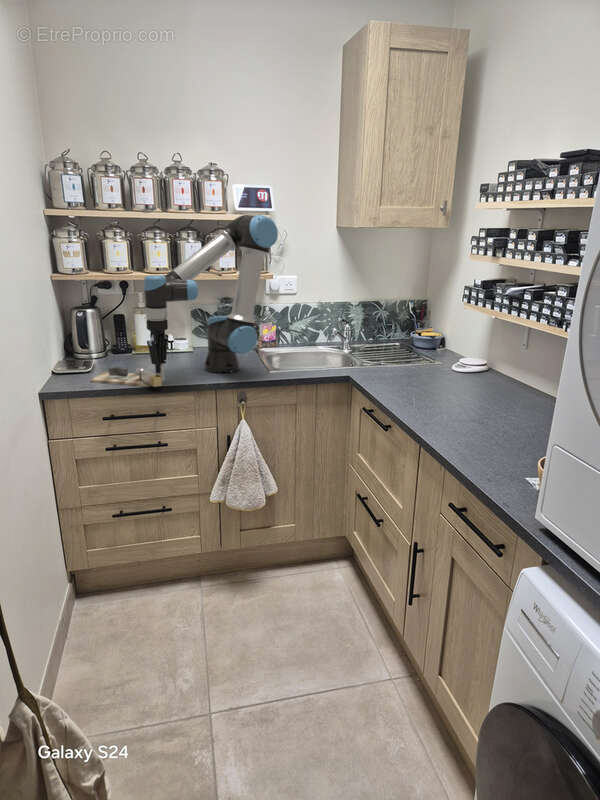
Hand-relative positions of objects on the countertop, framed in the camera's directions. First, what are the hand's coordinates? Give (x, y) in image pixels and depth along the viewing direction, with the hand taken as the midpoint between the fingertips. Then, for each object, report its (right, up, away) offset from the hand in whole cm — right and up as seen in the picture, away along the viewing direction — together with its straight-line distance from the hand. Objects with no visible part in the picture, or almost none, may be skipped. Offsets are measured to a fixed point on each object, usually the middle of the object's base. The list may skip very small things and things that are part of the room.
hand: (160, 380), depth 206 cm
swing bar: (-5, 0, +1) cm, 5 cm away
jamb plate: (-9, 0, +6) cm, 11 cm away
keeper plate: (-20, +1, +9) cm, 22 cm away
